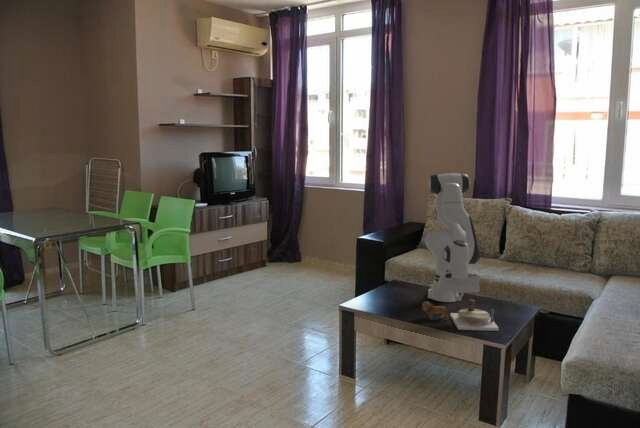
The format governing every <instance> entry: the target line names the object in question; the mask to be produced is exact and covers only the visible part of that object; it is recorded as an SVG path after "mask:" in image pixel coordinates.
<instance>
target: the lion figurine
mask: <svg viewBox="0 0 640 428" xmlns="http://www.w3.org/2000/svg"><path fill="white" fill-rule="evenodd" d="M421 308H422V310H423V311H424V312H425V313H426V314H428V316H427V318H428V319H429V320H432V319H433V315H434V314H439V313H441V316H439V319H442V318H444V317H445V321H449V319H452V318H451V316H450V314H449V311H448V309H447V307H446V306H444V305H440V306H439V305H438V306H436V305H434V304H433V303H431V302H430V301H424V302H422V306H421Z"/></svg>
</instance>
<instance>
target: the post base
mask: <svg viewBox="0 0 640 428" xmlns="http://www.w3.org/2000/svg"><path fill="white" fill-rule="evenodd" d="M494 313H495V310H494V309H490V319H489V320H488V321H485V322H471V321H467V320H464V319H461V318H460V317H459V316H458V312H450V314H449V317H451V318H450V319H451V320H452V322H453V323H454V325H455V327H456V329H457V330H459V331H462V330H463V331H493V332H494V331H495V332H498V331H500V330H499V326H498V325H497V323H496V322H495V321H494Z"/></svg>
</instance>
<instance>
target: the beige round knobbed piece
mask: <svg viewBox="0 0 640 428" xmlns="http://www.w3.org/2000/svg"><path fill="white" fill-rule="evenodd" d="M475 304H476V300H475V299H468V306H467V308H462V309H460V310H458V311H457V313H458V316H459V317H460V318H461V319H464V320H467V321H471V322H485V321H488V320H489V319H490V317H491V313H489V312H488V311H485V310H482V309H479V308H475V306H476V305H475Z"/></svg>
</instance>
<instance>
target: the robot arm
mask: <svg viewBox="0 0 640 428" xmlns="http://www.w3.org/2000/svg"><path fill="white" fill-rule="evenodd" d="M427 186H428V188H429V192H431V193H432V194H434V195H437V199H436V219H437V221H438V223H440V224H442V225H443V226H444V228H445V230H437V231H433V232H429V233H428V234H426V236H425V238H424V244H425V246H426V248H427V249H428V250H429V251H430V252H431V253H432V254H433V256H434V259H435V273H434V280H433V282H432V284H429V289H428V292H427V299H431V300H434V301H438V302H443V303H453V302H457V301H459V302H460V301H462V298H463V296H464V295H465V293H479V292H480V281H481V275H479V274H478V273H469V265H475V264H476V263H478V262H479V261H480V260H481V251H480V248H479V244H478V240H477V237H476V230H475V226H474V223H473V219H472V217H471V215H470V214H469V213H468V212H467V211H466V208H465V205H464V197H463V196H464V194H465V193H466V192H468V191H469V189H470V186H471V179H470V177H469V175H468V174H466V173H462V172H461V173H455V172H453V173H452V172H449V173H441V174H440V173H439V174H437V173H436V174H432V175H430V177H429V179H428V181H427ZM459 293H460V294H459Z"/></svg>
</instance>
